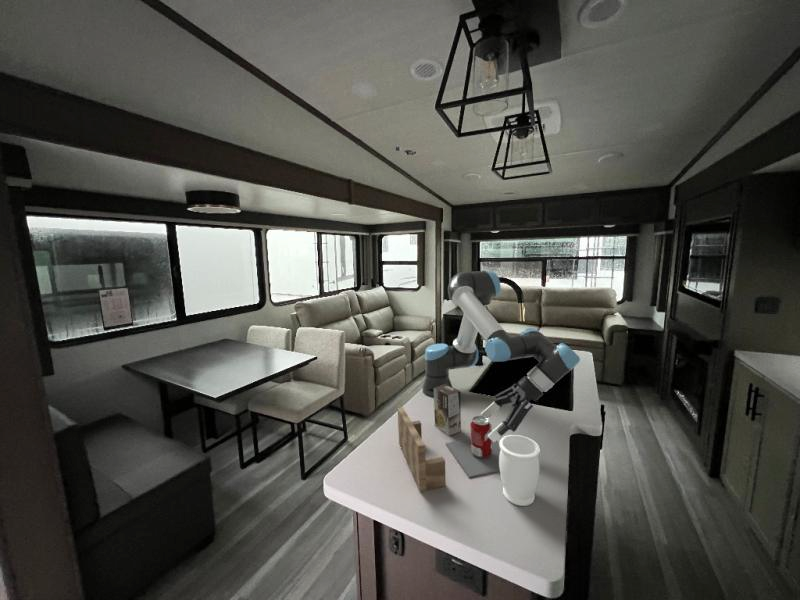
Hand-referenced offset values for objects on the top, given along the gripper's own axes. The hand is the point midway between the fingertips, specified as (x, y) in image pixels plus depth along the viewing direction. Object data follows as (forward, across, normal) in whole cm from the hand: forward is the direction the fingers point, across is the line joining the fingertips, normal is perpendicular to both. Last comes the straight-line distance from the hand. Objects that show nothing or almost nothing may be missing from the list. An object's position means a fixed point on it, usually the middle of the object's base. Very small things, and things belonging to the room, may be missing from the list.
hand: (486, 427), depth 102 cm
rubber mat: (+9, +1, -6) cm, 11 cm away
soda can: (+8, +1, -6) cm, 10 cm away
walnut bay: (+23, -5, +8) cm, 25 cm away
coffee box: (+16, +17, +1) cm, 24 cm away
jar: (+3, -17, -12) cm, 21 cm away
